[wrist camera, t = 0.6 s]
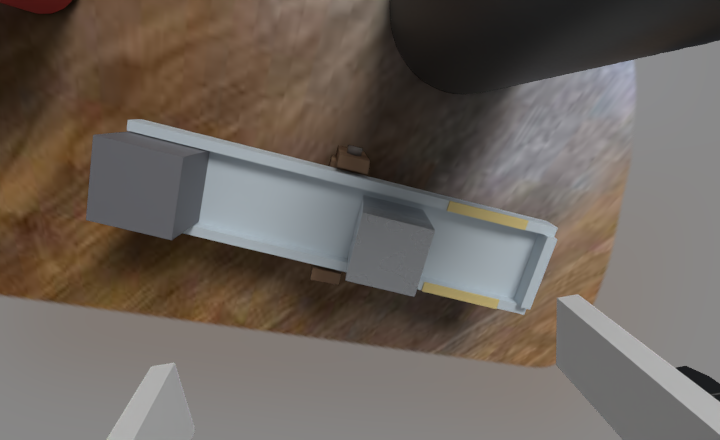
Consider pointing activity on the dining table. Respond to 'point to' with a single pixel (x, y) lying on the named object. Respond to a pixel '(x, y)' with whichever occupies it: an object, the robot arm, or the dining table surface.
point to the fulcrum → (352, 162)
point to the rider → (389, 246)
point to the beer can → (38, 5)
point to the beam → (304, 211)
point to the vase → (539, 37)
